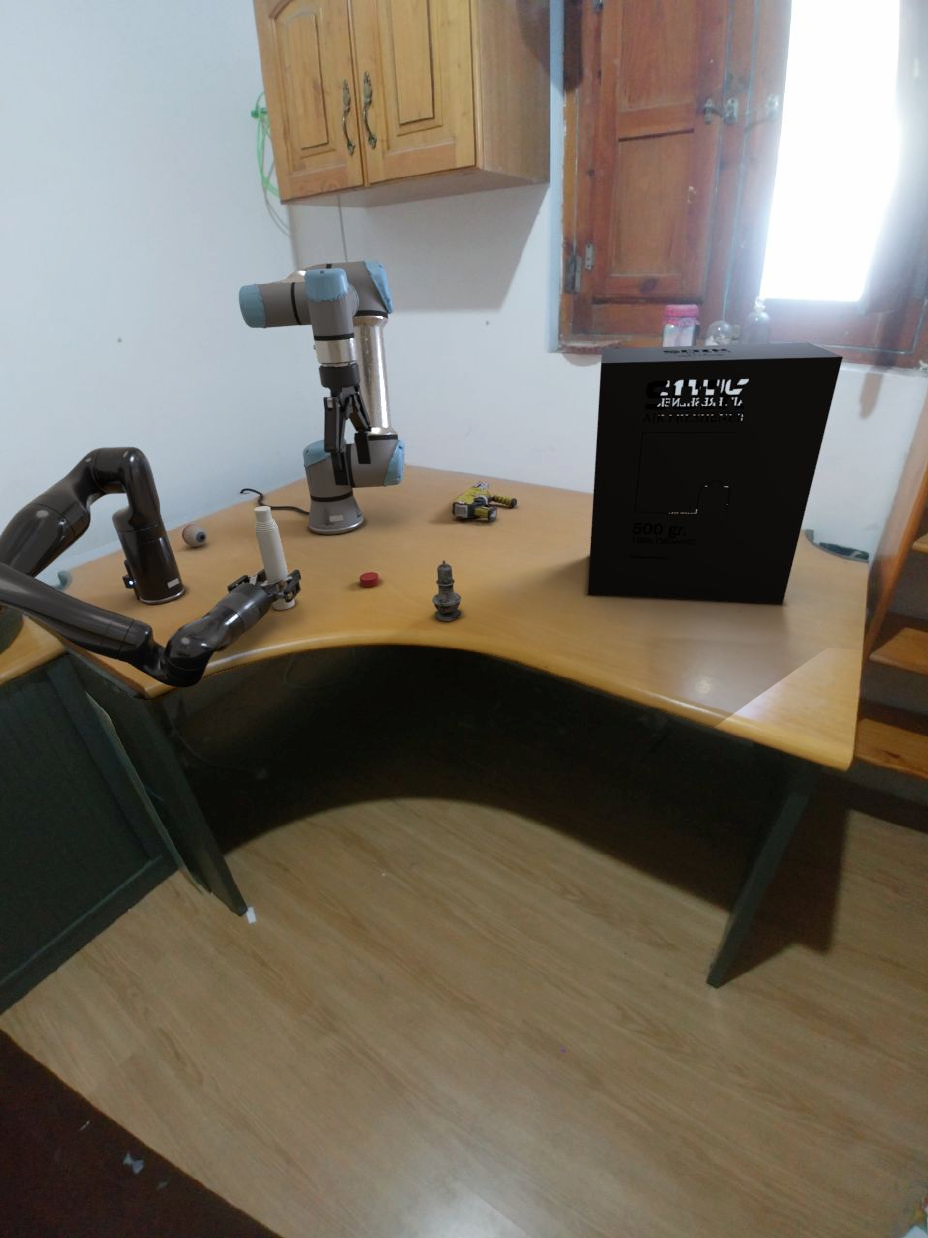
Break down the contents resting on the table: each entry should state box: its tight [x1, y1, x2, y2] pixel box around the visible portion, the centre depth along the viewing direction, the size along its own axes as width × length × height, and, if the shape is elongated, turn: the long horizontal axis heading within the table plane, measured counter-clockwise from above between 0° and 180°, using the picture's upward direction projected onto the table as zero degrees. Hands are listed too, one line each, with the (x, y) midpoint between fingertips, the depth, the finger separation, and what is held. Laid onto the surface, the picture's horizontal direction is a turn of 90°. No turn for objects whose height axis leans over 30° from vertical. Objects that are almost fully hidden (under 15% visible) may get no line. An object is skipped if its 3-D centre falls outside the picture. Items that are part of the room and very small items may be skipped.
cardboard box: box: [587, 342, 844, 605], centre depth 120 cm, size 38×20×45 cm, turn 78°
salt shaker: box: [431, 560, 462, 622], centre depth 119 cm, size 6×6×12 cm
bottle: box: [253, 505, 296, 611], centre depth 124 cm, size 4×4×22 cm
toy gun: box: [451, 480, 518, 523], centre depth 174 cm, size 5×24×15 cm
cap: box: [359, 571, 380, 588], centre depth 136 cm, size 4×4×2 cm
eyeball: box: [181, 523, 208, 548], centre depth 159 cm, size 6×6×6 cm
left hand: (283, 572), depth 128 cm, fingers open, 6 cm apart
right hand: (354, 473), depth 124 cm, fingers open, 13 cm apart
